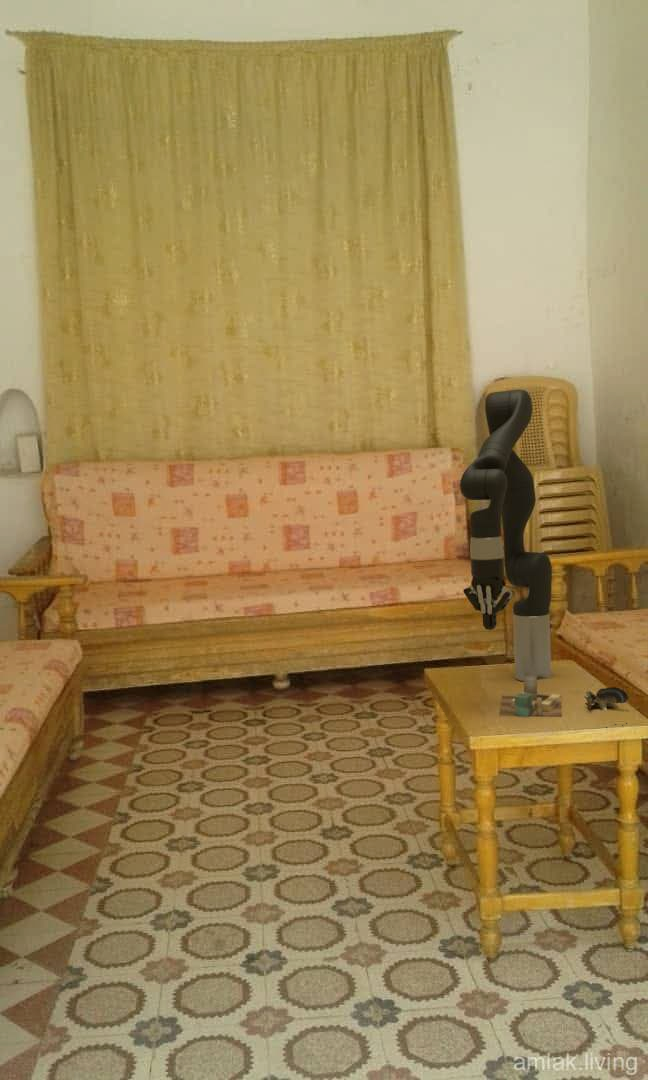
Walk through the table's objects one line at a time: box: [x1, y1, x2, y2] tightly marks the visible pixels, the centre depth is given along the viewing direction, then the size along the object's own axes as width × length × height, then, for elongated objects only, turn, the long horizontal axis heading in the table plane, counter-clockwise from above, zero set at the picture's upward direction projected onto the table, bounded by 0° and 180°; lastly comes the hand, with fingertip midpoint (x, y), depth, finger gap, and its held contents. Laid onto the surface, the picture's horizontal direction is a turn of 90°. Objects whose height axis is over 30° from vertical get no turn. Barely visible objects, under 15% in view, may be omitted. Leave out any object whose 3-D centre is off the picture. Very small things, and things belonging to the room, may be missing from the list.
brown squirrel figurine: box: [584, 686, 629, 711], centre depth 241 cm, size 8×7×9 cm
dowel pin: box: [537, 698, 542, 716], centre depth 238 cm, size 1×1×4 cm
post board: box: [498, 675, 563, 718], centre depth 246 cm, size 17×14×8 cm
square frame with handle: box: [511, 691, 562, 718], centre depth 244 cm, size 14×9×4 cm, turn 148°
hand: (490, 628), depth 245 cm, fingers closed
